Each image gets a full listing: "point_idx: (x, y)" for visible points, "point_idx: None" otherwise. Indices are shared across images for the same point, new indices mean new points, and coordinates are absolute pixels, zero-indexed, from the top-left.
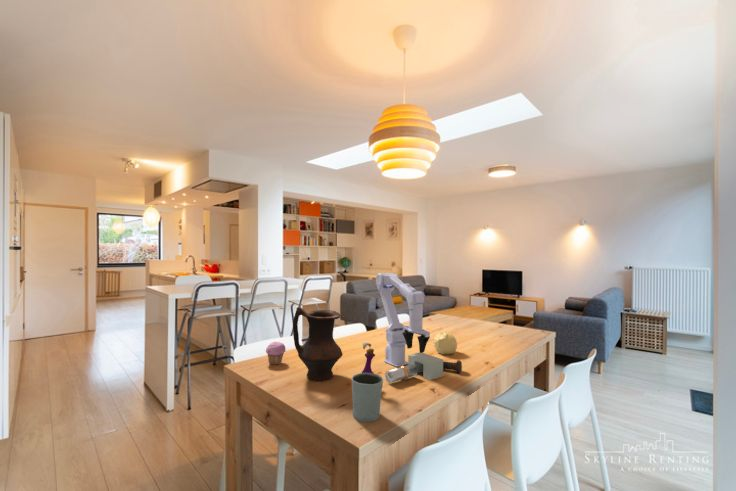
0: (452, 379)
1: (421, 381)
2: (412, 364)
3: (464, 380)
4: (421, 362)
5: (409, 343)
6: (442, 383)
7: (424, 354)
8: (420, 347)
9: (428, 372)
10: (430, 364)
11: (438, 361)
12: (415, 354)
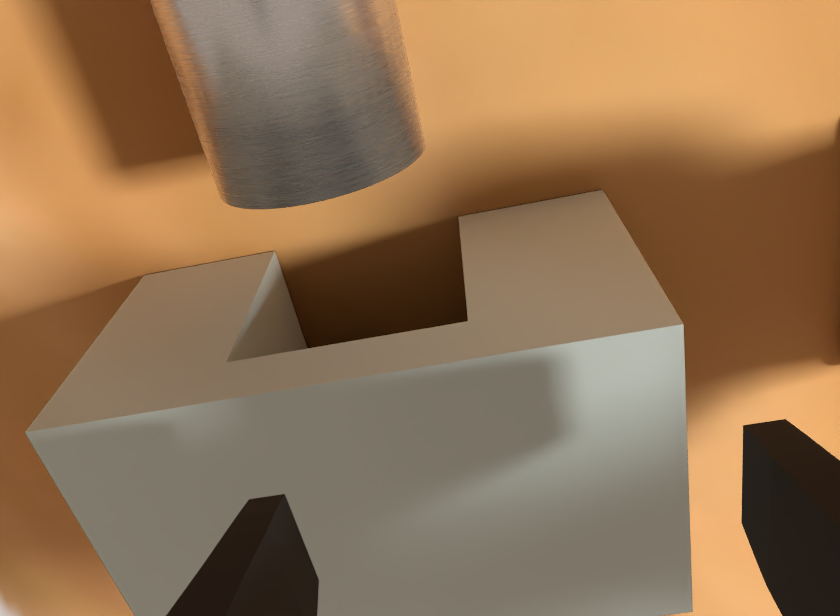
0: None
1: (130, 135)
2: (314, 173)
3: (51, 583)
4: (272, 362)
5: (816, 576)
6: (3, 349)
7: (540, 592)
8: (180, 612)
9: (139, 320)
10: (40, 419)
11: (129, 589)
12: (635, 470)
